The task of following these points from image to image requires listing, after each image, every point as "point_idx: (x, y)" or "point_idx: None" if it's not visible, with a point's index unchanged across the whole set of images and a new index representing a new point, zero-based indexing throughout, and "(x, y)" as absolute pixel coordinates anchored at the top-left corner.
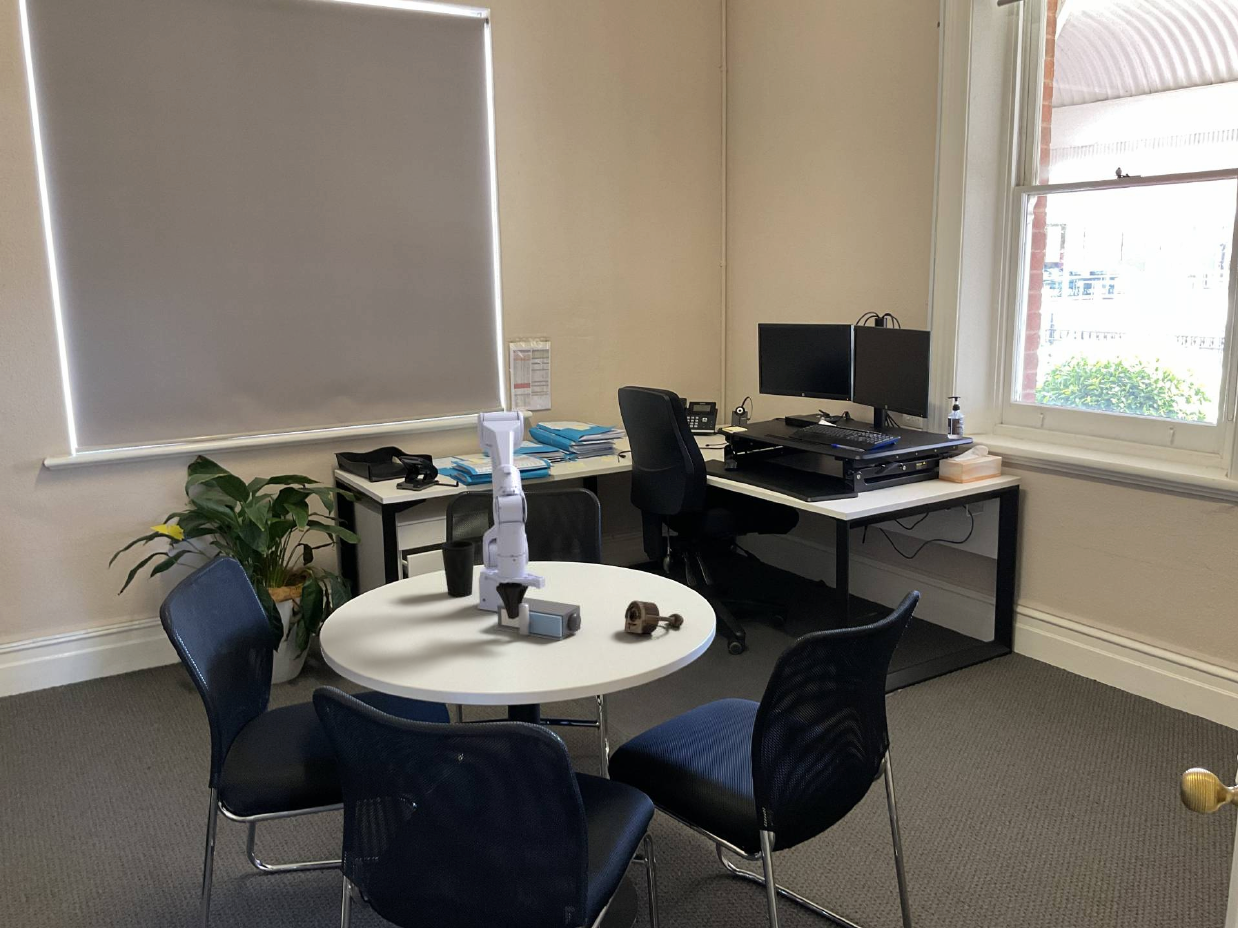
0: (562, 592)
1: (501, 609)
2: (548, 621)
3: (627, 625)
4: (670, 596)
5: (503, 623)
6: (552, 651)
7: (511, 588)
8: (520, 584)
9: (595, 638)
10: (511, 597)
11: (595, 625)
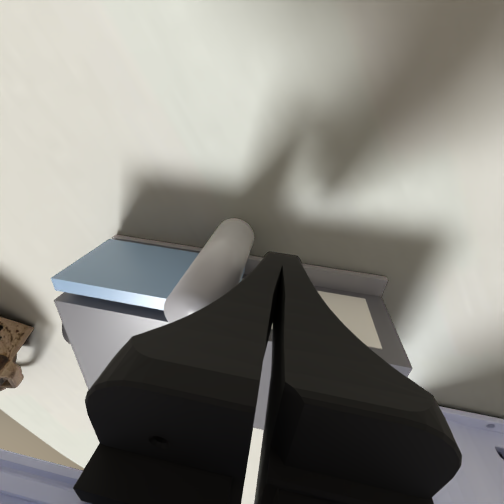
0: None
1: (380, 346)
2: (122, 273)
3: (5, 335)
4: None
5: (357, 300)
6: (64, 122)
7: (152, 397)
8: (79, 482)
9: (52, 274)
10: (225, 318)
11: None
